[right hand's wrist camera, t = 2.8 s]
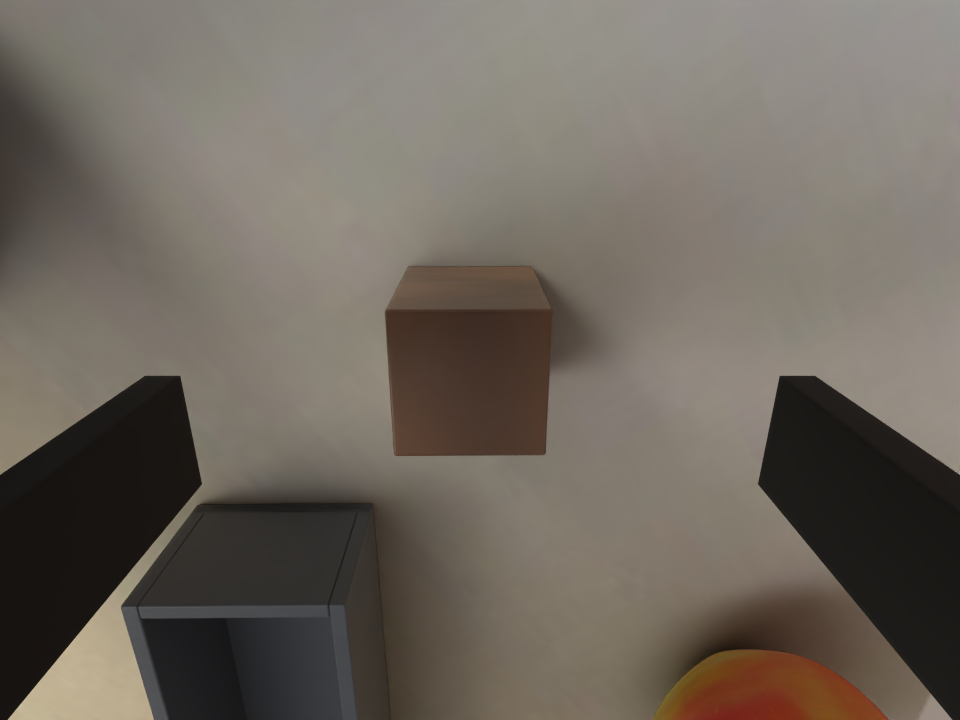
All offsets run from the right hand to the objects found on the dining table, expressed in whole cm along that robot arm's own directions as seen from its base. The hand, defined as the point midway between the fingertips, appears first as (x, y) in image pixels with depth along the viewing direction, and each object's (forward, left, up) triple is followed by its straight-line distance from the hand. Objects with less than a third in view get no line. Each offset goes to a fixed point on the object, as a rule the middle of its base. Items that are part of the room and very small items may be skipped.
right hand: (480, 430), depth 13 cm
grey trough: (-7, -21, -7) cm, 23 cm away
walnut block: (0, 0, -7) cm, 7 cm away
